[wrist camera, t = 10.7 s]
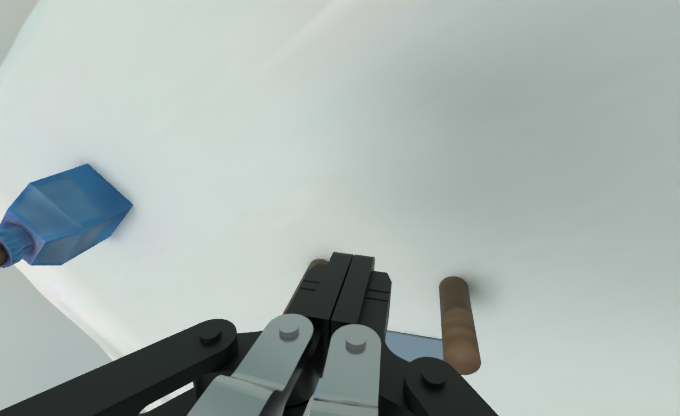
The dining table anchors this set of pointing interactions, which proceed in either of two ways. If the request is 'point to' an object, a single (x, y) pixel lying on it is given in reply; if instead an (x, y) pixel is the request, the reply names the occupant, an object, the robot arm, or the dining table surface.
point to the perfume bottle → (60, 218)
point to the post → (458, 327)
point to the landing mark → (408, 348)
